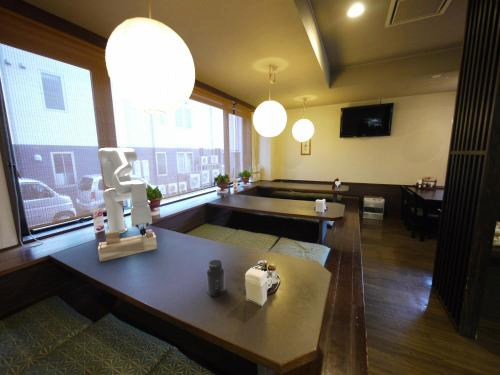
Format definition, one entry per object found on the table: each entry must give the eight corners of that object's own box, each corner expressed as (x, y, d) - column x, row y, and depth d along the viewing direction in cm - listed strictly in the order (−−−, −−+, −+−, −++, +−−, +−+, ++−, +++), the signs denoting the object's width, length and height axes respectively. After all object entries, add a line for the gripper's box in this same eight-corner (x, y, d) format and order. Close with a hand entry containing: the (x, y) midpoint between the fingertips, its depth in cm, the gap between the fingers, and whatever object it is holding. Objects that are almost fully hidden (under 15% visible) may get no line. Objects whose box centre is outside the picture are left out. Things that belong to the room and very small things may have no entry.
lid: (102, 244, 111) (100, 231, 110) (141, 236, 121) (139, 225, 120) (100, 250, 104) (99, 236, 102) (142, 241, 113) (141, 229, 112)
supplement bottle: (204, 291, 80) (202, 262, 78) (218, 283, 84) (217, 256, 82) (214, 299, 75) (212, 269, 73) (228, 291, 79) (227, 262, 78)
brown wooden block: (146, 234, 121) (145, 230, 121) (151, 233, 123) (151, 229, 122) (147, 238, 115) (146, 233, 115) (153, 236, 117) (152, 232, 117)
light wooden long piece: (101, 255, 111) (99, 242, 110) (154, 243, 125) (153, 232, 124) (99, 261, 104) (97, 248, 103) (157, 248, 118) (155, 236, 117)
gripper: (153, 201, 122) (156, 230, 124) (124, 204, 114) (128, 235, 116) (155, 203, 115) (158, 234, 118) (124, 207, 107) (128, 240, 110)
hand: (143, 234), depth 117 cm, fingers closed
